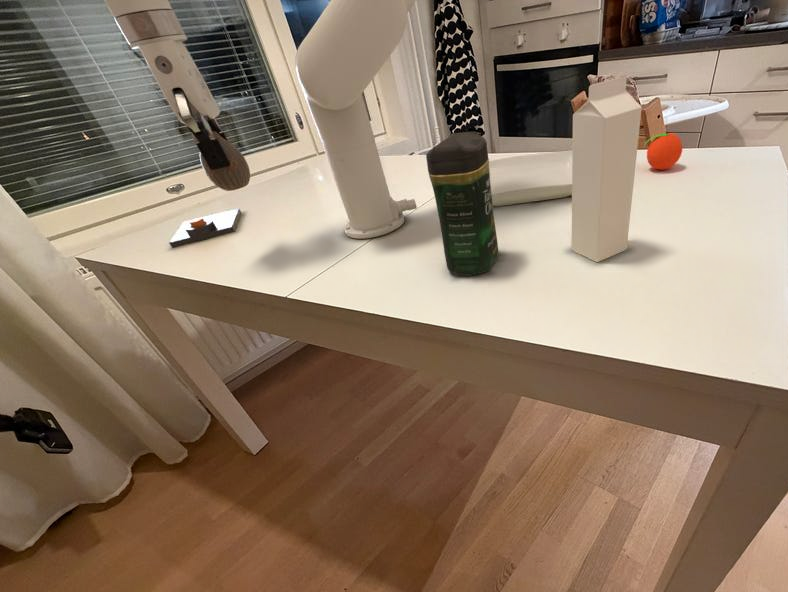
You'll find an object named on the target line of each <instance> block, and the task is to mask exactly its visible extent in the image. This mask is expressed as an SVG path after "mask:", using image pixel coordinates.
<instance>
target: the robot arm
mask: <svg viewBox="0 0 788 592" xmlns="http://www.w3.org/2000/svg"><path fill="white" fill-rule="evenodd" d="M416 1H417V0H330V1H329V3H328V4H327V5H326V7H325V8H324V10H323V11H322V13H321V14H320V16H319V17H318V19H317V20H316V22H315V23H314V25H313V26H312V27H311V28H310V30H309V31H308V33H307V34H306V36H305V37H304V39H303V40H302V41H301V43H300V45H299V46H298V48H297V50H296V53H295V58H294V67H295V74H296V78H297V81H298V83H299V86H300V88H301V90H302V93H303V97H304V99H305V101H306V104H307V106H308V108H309V113H310V114H311V118H312V120H313V123H314V126H315V128H316V131H317V134H318V137H319V140H320V142H321V145H322V148H323V152H324V154H325V157H326V160H327V163H328V165H329V168H330V171H331V174H332V176H333V179H334V182H335V185H336V187H337V190H338V193H339V196H340V199H341V202H342V205H343V207H344V210H345V213H346V216H347V218H348V223H346V224H345V226H344V233H345V235H346V236H347V237H349V238H351V239H357V240H358V239H359V240H361V239H362V240H363V239H372V238H376V237H380V236H381V237H382V236H384V235H387V234H389V233H392V232H394V231H396V230H397V229H399V228H400V227H401V226H402V225H403V224H404V222H405V217H404V214H403V213H404V212H406V211H412V210H417V208H418V207H417V203H416V200H415V198H412V199H409V200H408V199H407V198H404V199H400V200H397V201H396V200H394V199H393V198H392V196H391V194H390V190H389V187H388V183H387V180H386V176H385V172H384V169H383V164H382V162H381V158H380V155H379V151H378V147H377V144H376V139H375V136H374V132H373V127H372V125H371V121H370V118H369V115H368V112H367V108H366V105H365V102H364V99H363V95H362V94H363V93H364V91H365V90H366V88H368V86H369V85H370V84H371V82H372V81H373V79H374V78H375V76H376V75H377V74H378V73H379V71H380V70H381V69H382V67H383V66H384V65H385V64H386V62H387V61H388V59H389V58H390V57H391V55H392V54H393V52H394V51H395V50H396V48H397V46H398V45H399V44H400V42H401V40H402V39H403V36H404V33H405V30H406V27H407V14H408V13H409V12H410V10H411V9H412V8H413V7H414V5H415V4H416ZM103 2H104V3H105V5H106V6H107V9H108V10H109V12H110V13H111V15H112V17H113V19H114V20H115V22H116V24H117V26H118V28H119V30H120V31H121V33H122V35H123V36H124V38H125V40H126V41H127V43H128V46H130V48H131V50H139V51H140V52H141V55H142V56H143V59H144V61H145V63H146V65H147V66H148V68H149V70H150V72H151V74H152V76H153V78H154V80H155V81H156V84H157V86H158V87H159V89H160V90H161V92H162V94H163V96H164V98H165V100H166V101H167V103H168V105H169V106H170V108H171V110H172V112H173V113H174V115H175V116H176V118H177V120H178V121H179V122H180V123H182V124H184V125H187V129H188V131H189V132H190V134H191V137H192V139H193V141H194V143H195V144H196V147H197V148H198V150H199V153H200V152H201V154H202V155H203V157H204V159H205V161H206V163H207V164H208V166H209V168H210V169H211V170H215V169H219V168H223V167H227V166H230V162H229V160H228V158H227V156H226V154H225V152H224V150H223V148H222V146H221V145H220V143H219V141H218V139H215V138H214V135H213V133H212V131H215V132H217V133H218V134H219V135H220V136H221V137H222V138H223V139H225V140H226V141H228V142H229V140H228V138H227V135H226V134H225V132H223V130H222V127H221V125H220V124H219V122H218V121H217V119H216V118H217V117H218V116H219V115H220V113H221V109H220V107H219V105H218V103H217V101H216V100H215V98H214V96H213V94H212V92H211V90H210V88H209V86H208V84H207V83H206V81H205V79H204V76H202V73H201V71H200V70H199V68H198V66H197V65H196V63H195V61H194V59H193V57H192V55H191V53H190V52H189V51H188V49H187V47H186V46H185V44H184V42H185V41H188V36H187V35H186V33H185V31H184V29H183V27H182V25H181V23H180V22H179V19H178V17H177V15H176V13H175V11H174V10H173V8H172V6H171V3H170V1H169V0H103Z"/></svg>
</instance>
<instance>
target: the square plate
mask: <svg viewBox="0 0 788 592" xmlns="http://www.w3.org/2000/svg"><path fill="white" fill-rule="evenodd" d="M572 150H573V149H569V150H561V151H552V152H551V151H550V152H542V153H534V154H533V153H532V154H524V155H517V156H511V157H504V158H497V159H493V160H492V159H491V160H489V171H490V185H491V194H492V203H493V207H502V206H510V205H517V204H523V203H524V204H525V203H531V202H538V201H547V200H555V199H562V198H566V197H570V196H572Z"/></svg>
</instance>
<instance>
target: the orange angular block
mask: <svg viewBox="0 0 788 592" xmlns="http://www.w3.org/2000/svg"><path fill="white" fill-rule="evenodd" d="M188 221H189V220H188ZM189 223H190V225H191V226H192V228H196V227H200V226H203V225H205V224H206V223H205V221H204V219H203V218H201V217H196V218H192V219H191V221H189Z"/></svg>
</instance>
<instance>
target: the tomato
mask: <svg viewBox="0 0 788 592" xmlns="http://www.w3.org/2000/svg"><path fill="white" fill-rule="evenodd" d="M651 140H652V141H651ZM650 141H651V142H650ZM648 142H650V143H649V145H648V147H647V149H646V159H647V163H648V164H649V166H650V167H651V168H653V169H654V170H660V171H664V170H668V169H669V168H672V167H673V166H675V165H676V163H678V161H679V159H680V158H681V156H682V153H683V143H682V140H681V139H680V137H679V136H677V135H676V134H674V133H670V132H666V133H659V134H655V135H654V136H652V137H651V138H649V139H647V141H646V142H645V143H644V145H643V147H645V145H646V144H648Z"/></svg>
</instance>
